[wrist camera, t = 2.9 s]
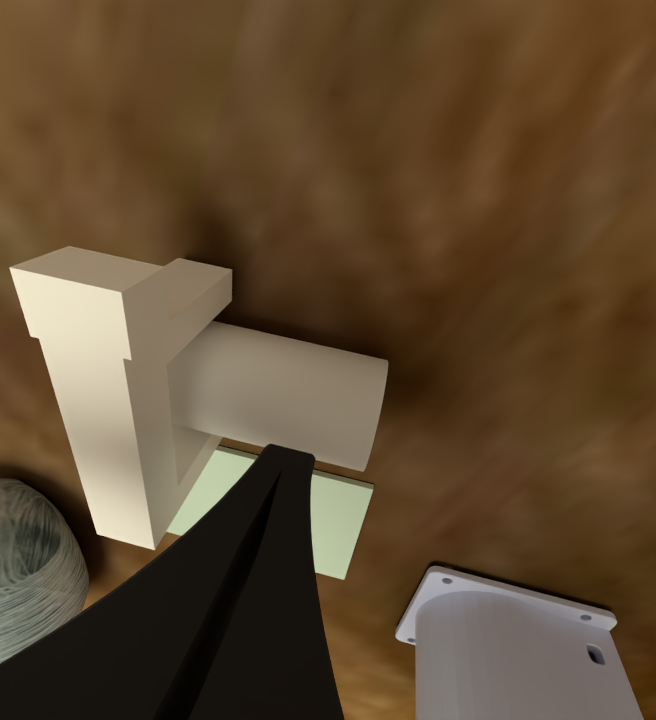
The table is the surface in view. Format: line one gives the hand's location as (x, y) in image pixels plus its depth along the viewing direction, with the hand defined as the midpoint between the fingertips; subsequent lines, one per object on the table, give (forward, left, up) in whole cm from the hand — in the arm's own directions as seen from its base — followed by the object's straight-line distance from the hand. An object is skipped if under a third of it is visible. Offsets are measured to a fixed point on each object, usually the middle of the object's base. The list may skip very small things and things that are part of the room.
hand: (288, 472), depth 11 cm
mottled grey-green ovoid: (+17, +18, -6) cm, 25 cm away
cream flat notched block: (+5, 0, -5) cm, 7 cm away
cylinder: (+3, 0, -5) cm, 6 cm away
